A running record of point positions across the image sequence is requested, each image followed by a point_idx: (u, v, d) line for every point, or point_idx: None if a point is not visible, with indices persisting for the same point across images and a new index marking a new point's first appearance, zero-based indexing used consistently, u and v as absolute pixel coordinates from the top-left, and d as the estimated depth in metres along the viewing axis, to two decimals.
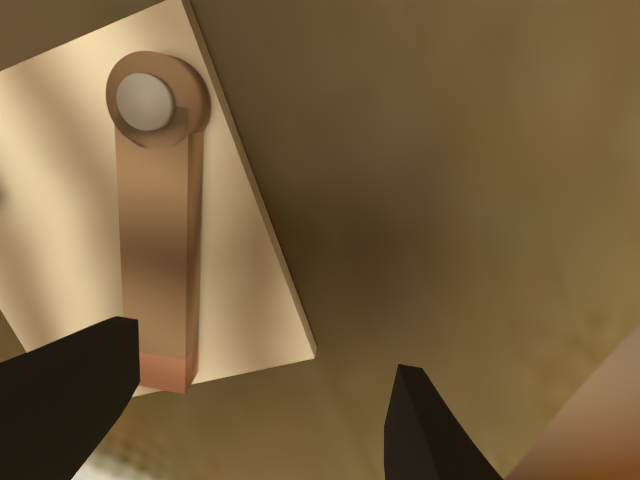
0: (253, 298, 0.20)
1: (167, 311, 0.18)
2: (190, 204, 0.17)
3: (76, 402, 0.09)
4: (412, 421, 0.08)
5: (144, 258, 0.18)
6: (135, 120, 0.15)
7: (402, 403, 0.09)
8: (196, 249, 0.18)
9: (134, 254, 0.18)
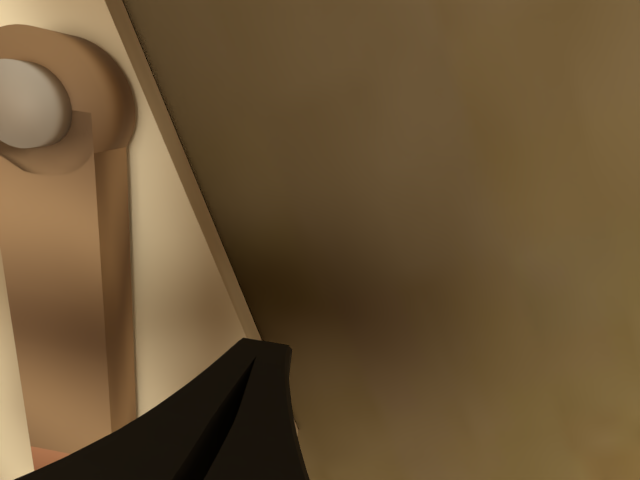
0: None
1: (83, 399, 0.13)
2: (108, 253, 0.12)
3: None
4: None
5: (45, 328, 0.12)
6: (6, 132, 0.10)
7: None
8: (124, 311, 0.13)
9: (31, 322, 0.12)
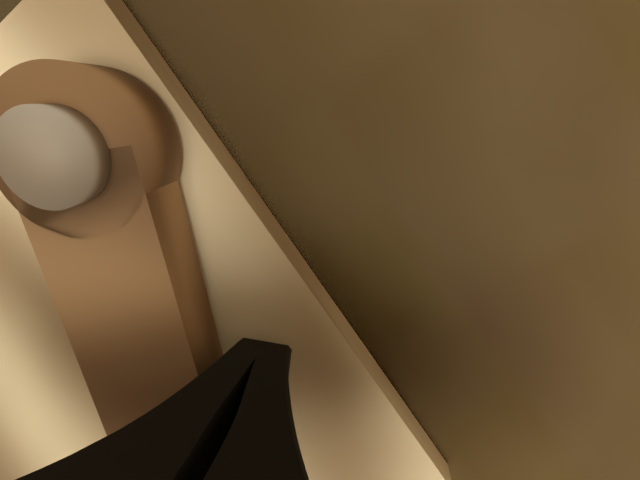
0: (331, 422, 0.12)
1: None
2: (187, 310, 0.09)
3: None
4: None
5: (138, 415, 0.10)
6: (40, 196, 0.08)
7: None
8: None
9: (120, 412, 0.10)
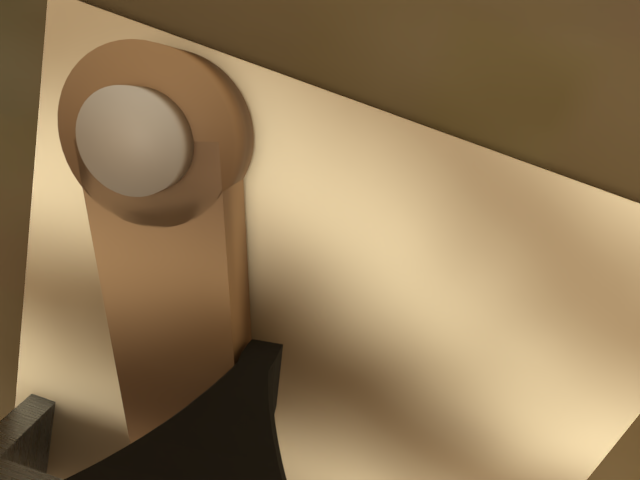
0: (561, 263, 0.10)
1: None
2: (235, 311, 0.09)
3: None
4: None
5: (163, 407, 0.10)
6: (118, 179, 0.08)
7: None
8: None
9: (146, 401, 0.10)
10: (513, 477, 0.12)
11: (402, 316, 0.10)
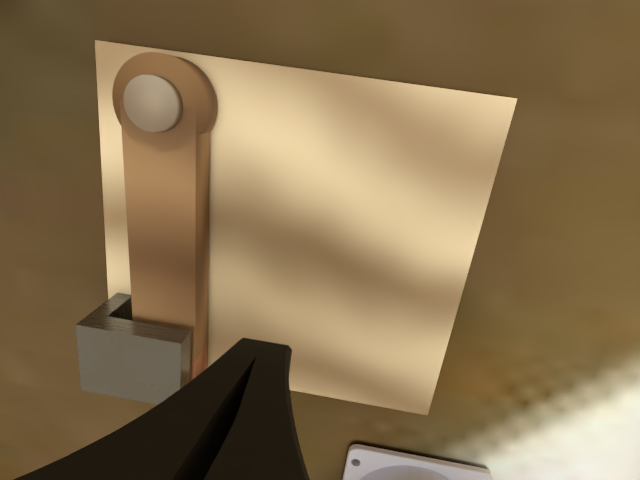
0: (404, 133, 0.16)
1: (176, 313, 0.18)
2: (198, 205, 0.17)
3: None
4: None
5: (153, 260, 0.17)
6: (142, 122, 0.15)
7: None
8: (204, 250, 0.18)
9: (143, 256, 0.17)
10: (422, 284, 0.18)
11: (324, 187, 0.17)
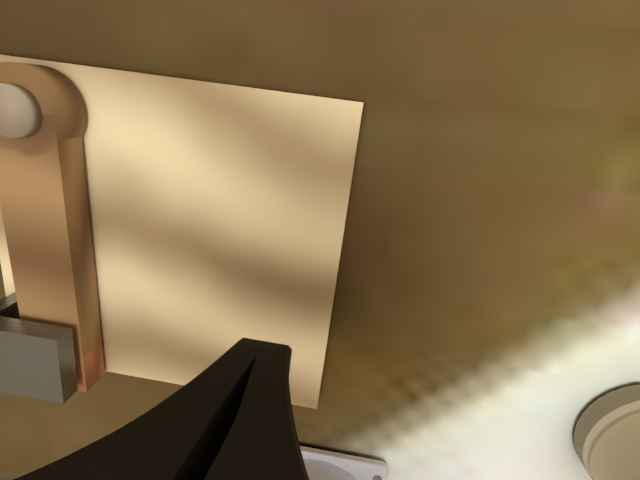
0: (263, 136, 0.17)
1: (60, 311, 0.19)
2: (70, 207, 0.18)
3: None
4: None
5: (32, 260, 0.18)
6: (1, 128, 0.16)
7: None
8: (86, 251, 0.19)
9: (22, 257, 0.18)
10: (296, 281, 0.19)
11: (195, 189, 0.18)
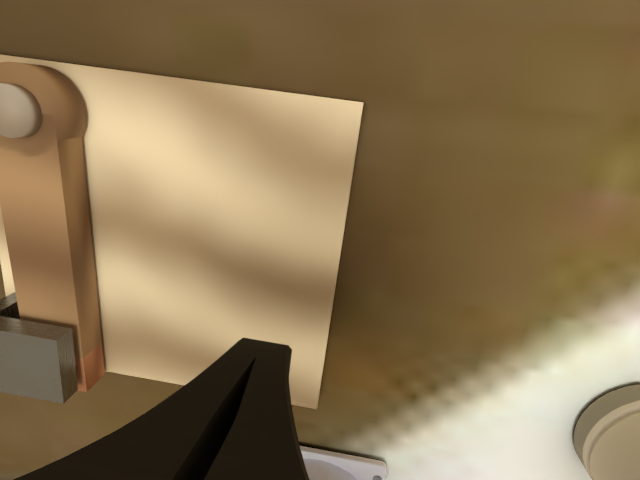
0: (263, 136, 0.17)
1: (60, 311, 0.19)
2: (70, 207, 0.18)
3: None
4: None
5: (32, 260, 0.18)
6: (1, 128, 0.16)
7: None
8: (86, 251, 0.19)
9: (22, 257, 0.18)
10: (296, 281, 0.19)
11: (195, 189, 0.18)
